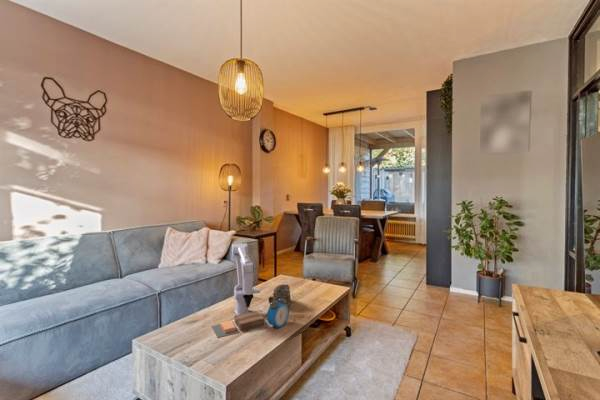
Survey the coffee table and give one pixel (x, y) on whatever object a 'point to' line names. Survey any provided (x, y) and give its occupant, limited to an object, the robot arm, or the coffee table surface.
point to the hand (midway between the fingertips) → (247, 306)
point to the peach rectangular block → (228, 326)
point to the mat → (220, 332)
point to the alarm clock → (278, 313)
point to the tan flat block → (249, 320)
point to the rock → (281, 294)
